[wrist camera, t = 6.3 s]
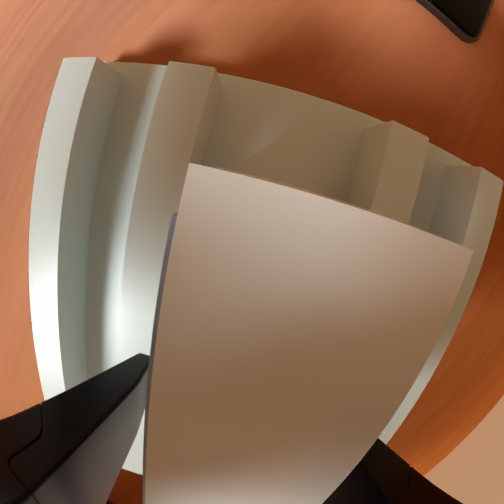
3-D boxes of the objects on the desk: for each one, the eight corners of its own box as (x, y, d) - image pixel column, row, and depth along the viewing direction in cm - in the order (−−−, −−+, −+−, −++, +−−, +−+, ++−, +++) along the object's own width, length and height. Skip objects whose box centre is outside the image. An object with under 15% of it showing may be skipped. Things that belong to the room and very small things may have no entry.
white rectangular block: (239, 430, 11) (235, 576, 5) (179, 417, 11) (145, 562, 4) (317, 193, 9) (476, 252, 2) (233, 170, 9) (182, 162, 2)
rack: (329, 461, 14) (339, 502, 11) (77, 408, 13) (54, 445, 10) (459, 166, 10) (509, 169, 7) (105, 68, 9) (64, 42, 6)
